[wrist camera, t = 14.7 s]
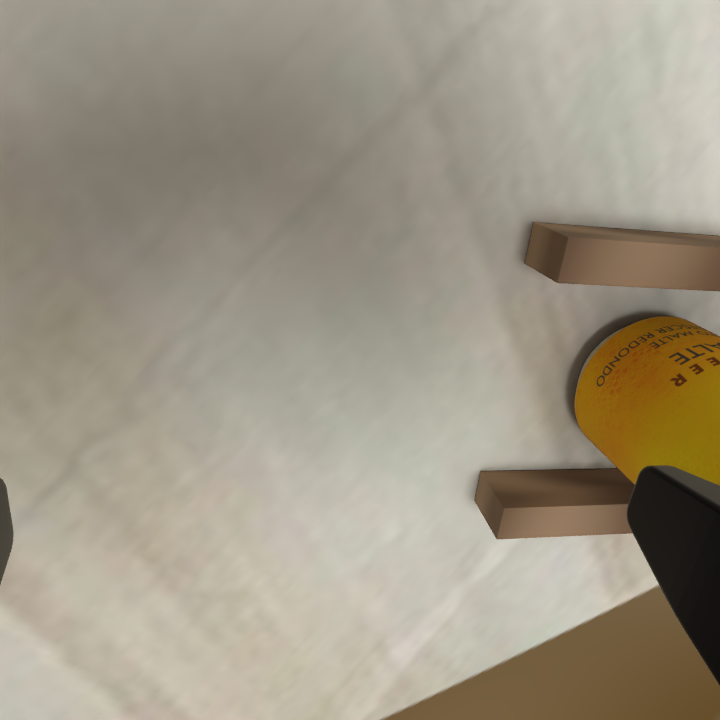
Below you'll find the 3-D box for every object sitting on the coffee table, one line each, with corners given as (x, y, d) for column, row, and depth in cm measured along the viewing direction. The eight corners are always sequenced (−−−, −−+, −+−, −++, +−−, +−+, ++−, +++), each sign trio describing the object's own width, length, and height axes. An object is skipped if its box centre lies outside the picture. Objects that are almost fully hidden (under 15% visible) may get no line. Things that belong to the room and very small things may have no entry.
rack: (474, 500, 26) (508, 560, 22) (533, 222, 21) (588, 245, 18) (702, 493, 28) (764, 547, 25) (801, 241, 23) (893, 265, 20)
